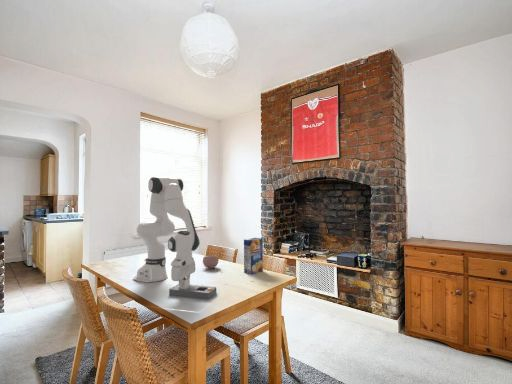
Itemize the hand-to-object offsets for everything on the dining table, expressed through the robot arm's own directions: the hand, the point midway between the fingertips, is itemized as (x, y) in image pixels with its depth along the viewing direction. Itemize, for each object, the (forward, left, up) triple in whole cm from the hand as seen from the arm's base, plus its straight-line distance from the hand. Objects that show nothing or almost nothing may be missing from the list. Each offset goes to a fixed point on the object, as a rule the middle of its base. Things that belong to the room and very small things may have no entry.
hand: (184, 284), depth 156 cm
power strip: (+6, 0, -6) cm, 8 cm away
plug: (0, 0, -5) cm, 5 cm away
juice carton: (+24, +55, -6) cm, 60 cm away
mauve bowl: (-10, +56, -6) cm, 57 cm away
